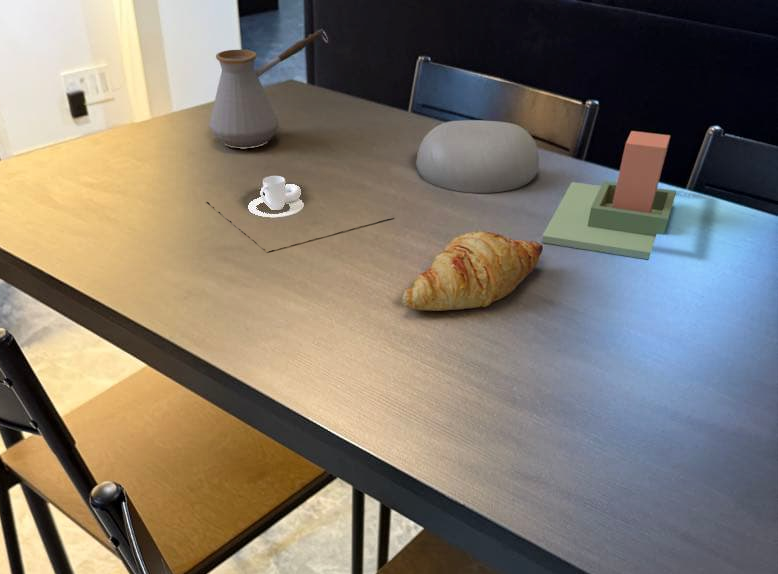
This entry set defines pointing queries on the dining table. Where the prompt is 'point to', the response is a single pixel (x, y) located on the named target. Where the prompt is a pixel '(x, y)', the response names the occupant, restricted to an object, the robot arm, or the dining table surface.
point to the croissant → (473, 272)
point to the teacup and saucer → (277, 197)
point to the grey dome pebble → (478, 156)
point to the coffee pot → (246, 97)
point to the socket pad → (607, 221)
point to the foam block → (640, 171)
